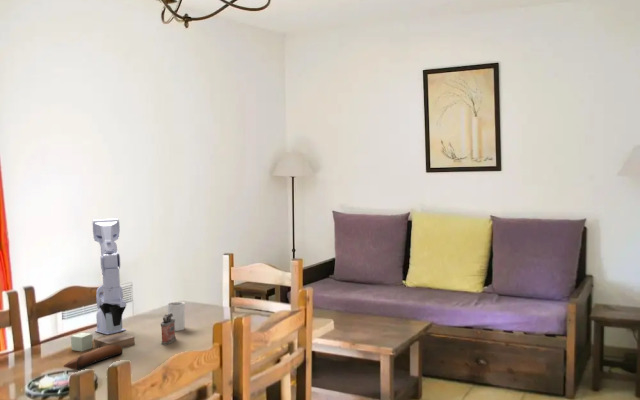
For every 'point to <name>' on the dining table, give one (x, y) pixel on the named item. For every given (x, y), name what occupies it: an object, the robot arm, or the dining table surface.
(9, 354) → the dining table surface
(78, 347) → the sage cube
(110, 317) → the blue block
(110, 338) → the walnut block
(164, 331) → the lighter
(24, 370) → the dining table surface
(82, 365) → the brown tapered cylinder
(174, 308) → the white cup
